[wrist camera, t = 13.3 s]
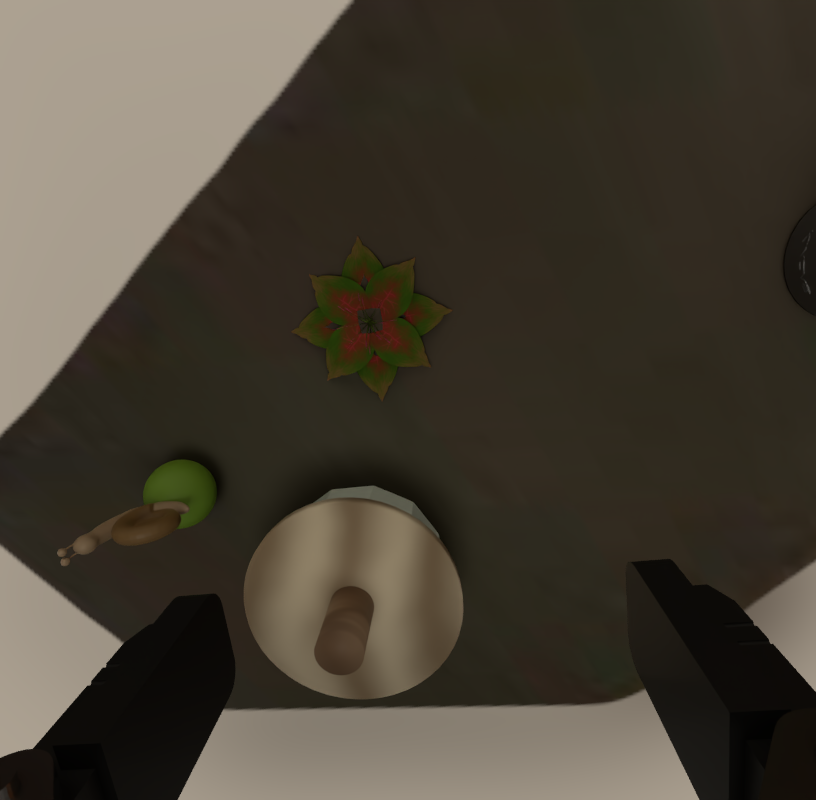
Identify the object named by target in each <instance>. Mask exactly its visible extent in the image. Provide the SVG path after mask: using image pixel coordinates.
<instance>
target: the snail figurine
mask: <svg viewBox="0 0 816 800" xmlns="http://www.w3.org/2000/svg"><path fill="white" fill-rule="evenodd" d="M216 497H217V487H216V482H215V480H214V478H213V476H212V474H211V473H210V472H209V470H208V469H207V468H205V467H204V466H203V465H201V464H199V463H197V462H194V461H191V460H174V461H170V462H168V463H165V464H163V465H162V466H160V467H159V468H157V469H156V470H155V471H154V472H153V473H152V474H151V475H150V477H149V478H148V480H147V482H146V484H145V487H144V491H143V502H144V505H143V506H141V507H138V508H134V509H131V510H129V511H126V512H124V513H122V514H120V515H118V516H116V517H114V518H112V519H110V520H108V521H106V522H104V523H102V524H101V525H99V526H97V527H96V528H95V529H93V530H92V531H91V532H89V533H88V534H85V535H82V536H80V537H78V538H77V539H76V540H75V542H74V544H72V545H70V546H69V547H67V548H66V549H65V548H61V549H59V550H58V552H57V554H58V556H60V557H63V556H65V555H66V554H67V549H68V548H70V547H71V546H73V549H74V551H75V552H76V553H75V554H74V555H76V554H88V553H90V552H92V551H93V550H95V548H96V547H97V546H98V545H100V544H102V543H104V542H106V541H108V540H109V539H111V538H113V540H114V541H115V542H117V543H118V544H120V545H125V546H135V545H141V544H146V543H149V542H153V541H156V540H158V539H161V538H163V537H165V536H167V535H169V534H170V533H172V532H173V531H174V530H176V529H181V528H187V527H190V526H193V525H195V524H197V523H199V522H200V521H202V520H203V519H204V518H205V517H206V516H207V515H208V514H209V513H210V512H211V510H212V508H213V506H214V504H215V501H216ZM74 555H72V556H71V557H73V556H74ZM71 557H69V558H67V557H65V558H63V559H62V560H61V565H62V566H67V565H69V563H70V558H71Z"/></svg>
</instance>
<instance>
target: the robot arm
mask: <svg viewBox="0 0 816 800" xmlns="http://www.w3.org/2000/svg"><path fill="white" fill-rule="evenodd" d="M784 269H785V279H786V282H787V285H788V288H789V291H790V292H791V294H792V295H793V297H794V299H795V300H796V301H797V302H798V303H799V304H800V305H801V306H802V307H803V308H804V309H805V310H806V311H808V312H810V313H812V314H813V315H815V316H816V205H815V206H814V207H813V208H812V209H811V210H809V211H808V212H807V214H806V215H805V216H804V217H803V218H802V219H801V221H800V222H799V223H798V225H797V227H796V228H795V230H794V232H793V233H792V235H791V237H790V240H789V243H788V246H787V249H786V254H785V261H784ZM626 592H627V617H628V637H629V644H630V650H631V654H632V658H633V661H634V664H635V667H636V670H637V672H638V674H639V676H640V678H641V680H642V682H643V684H644V687H645V689H646V691H647V693H648V695H649V697H650V699H651V701H652V703H653V705H654V707H655V709H656V711H657V713H658V715H659V717H660V719H661V721H662V724H663V726H664V728H665V730H666V732H667V734H668V736H669V738H670V740H671V742H672V744H673V746H674V748H675V750H676V752H677V754H678V756H679V759H680V761H681V763H682V765H683V767H684V769H685V771H686V773H687V775H688V777H689V779H690V781H691V783H692V785H693V787H694V789H695V791H696V794H697V796H698V798H699V800H816V692H815V691H814V690H813V689H812V687H811V686H810V685H809V684H808V683H807V682H806V681H805V679H804V678H803V677H802V676H801V675H800V674H799V673H798V672H797V670H796V669H795V668H794V667H793V666H792V665H791V664H790V663H789V661H788V660H787V659H786V658H785V657H784V656H783V655H782V654H781V652H780V651H779V650H778V649H777V648H776V647H775V646H774V645H773V644H770V642H769V639H768V638H767V637H766V636H765V634H764V633H763V632H762V631H761V630H760V629H759V628H758V627H757V626H754V624H753V621H752V620H751V619H750V618H749V616H748V615H747V614H746V613H745V612H744V611H743V610H742V608H741V607H740V606H739V605H738V604H737V603H736V602H735V601H734V600H732V599H731V598H729V597H727V596H726V595H724V594H722V593H721V592H719V591H717V590H716V589H714V588H712V587H711V586H709V585H695V586H693V585H692V584H691V583H690V582H689V580H688V579H687V578H686V577H685V575H684V574H683V573H682V572H681V570H680V569H679V568H678V567H677V565H676V564H675V563H674V562H673V561H672V560H671V559H662V560H649V561H637V562H628V564H627V566H626ZM106 664H107V665H106V668H102V669H101V671H100V672H99V673H98V674H97V675H96V676H95V678H94V679H93V680H92V681H91V685H90V686H87V687H86V688H85V689H84V690H83V691H82V692H81V694H80V695H79V696H78V697H77V698H76V699H75V701H74V702H73V703H72V704H71V705H70V706H69V708H68V709H67V710H66V711H65V712H64V713H63V714H62V716H61V717H60V718H59V719H58V720H57V722H56V723H55V724H54V725H53V726H52V727H51V728H50V730H49V731H48V732H47V733H46V734H45V736H44V737H43V738H42V739H41V740H40V741H39V742H38V743H37V745H36V746H35V747H34V748H33V749H29V750H28V749H27V750H23V751H18V752H15V753H12V754H9V755H6V756H4V757H2V758H0V800H178V798H179V796H180V794H181V792H182V790H183V788H184V786H185V784H186V782H187V780H188V778H189V776H190V774H191V772H192V770H193V768H194V766H195V764H196V762H197V760H198V758H199V756H200V754H201V752H202V750H203V748H204V746H205V744H206V742H207V740H208V738H209V736H210V734H211V732H212V730H213V728H214V726H215V725H216V722H217V721H218V718H219V717H220V715H221V713H222V711H223V709H224V707H225V705H226V703H227V701H228V699H229V697H230V695H231V692H232V689H233V685H234V680H235V659H234V654H233V650H232V645H231V641H230V637H229V632H228V628H227V624H226V619H225V615H224V611H223V606H222V603H221V600H220V598H219V597H218V596H217V595H216V594H202V595H189V596H179V597H176V598H175V599H174V600H173V601H172V602H171V603H170V604H169V605H168V607H167V608H166V609H165V610H164V611H163V613H162V614H161V615H160V616H159V617H158V619H157V620H156V621H155V622H154V623H153V624H149V625H148V626H147V627H145V628H144V629H143V630H141V631H140V632H138V633H137V634H136V635H134V636H133V637H132V638H130V639H129V640H127V641H126V642H125V643H124V644H123V645H122V646H121V647H120V649H119V650H118V651H117V652H116V653H115V654H114V655H113V657H112V658H111V659H110V660H109V661H108V662H107V663H106Z"/></svg>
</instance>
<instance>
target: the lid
mask: <svg viewBox="0 0 816 800" xmlns="http://www.w3.org/2000/svg"><path fill="white" fill-rule="evenodd" d="M244 606H245V612H246V616H247V620H248V623H249V626H250V629H251V631H252V633H253V635H254V638H255V639H256V641H257V643H258V644H259V646H260V648H261V649H262V650H263V652H264V653H265V654H266V655H267V657H268V658H269V659H270V660H271V661H272V662H273V663H274V664H275V665H276V666H277V667H278V668H279V669H280V670H281V671H283V672H284V673H285V674H286V675H288V676H289V677H290V678H292V679H294V680H295V681H297V682H299V683H300V684H302V685H304V686H306V687H308V688H311V689H313V690H315V691H318V692H321V693H324V694H327V695H331V696H336V697H340V698H349V699H373V698H382V697H386V696H390V695H394V694H397V693H400V692H403V691H405V690H408V689H410V688H412V687H414V686H416V685H418V684H419V683H421V682H422V681H424V680H425V679H427V678H428V677H429V676H431V675H432V674H433V673H434V672H435V671H436V670H437V669H438V668H439V667H440V666H441V665H442V664H443V662H444V661H445V660H446V659H447V657H448V656H449V654H450V653H451V651H452V649H453V648H454V645H455V643H456V641H457V638H458V636H459V633H460V629H461V625H462V618H463V594H462V586H461V580H460V576H459V573H458V570H457V567H456V564H455V562H454V560H453V558H452V557H451V555H450V553H449V551H448V550H447V548H446V547H445V545H444V544H443V542H442V541H441V540H440V539H439V538H438V537H437V535H436V534H435V533H434V532H433V531H432V530H431V529H430V528H428V527H427V526H426V525H425V524H424V523H423V522H421V521H420V520H418V519H417V518H415V517H414V516H412V515H411V514H409V513H407V512H405V511H403V510H401V509H399V508H397V507H395V506H392V505H389V504H386V503H383V502H380V501H375V500H371V499H365V498H354V497H346V498H333V499H327V500H322V501H318V502H315V503H311V504H309V505H306V506H304V507H302V508H300V509H297V510H296V511H294V512H292V513H291V514H289V515H287V516H286V517H285V518H283V519H282V520H281V521H280V522H278V523H277V524H276V525H275V526H274V527H273V528H272V529H271V530H270V532H269V533H268V534H267V535H266V536H265V538H264V539H263V541H262V542H261V544H260V545H259V547H258V548H257V550H256V551H255V553H254V555H253V557H252V559H251V561H250V563H249V566H248V570H247V573H246V577H245V584H244Z"/></svg>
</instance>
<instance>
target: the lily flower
mask: <svg viewBox="0 0 816 800" xmlns="http://www.w3.org/2000/svg"><path fill="white" fill-rule="evenodd" d="M351 251H352V254H349V255H348V257H347V259H346V262H345V264H344V267H343V271H342V277H341V276H329V275H325V276H319V277H316V276H315V275H310V274H309V276H310V278H311V280H312V284H313V288H314V290H316V292H315V297H316V300H317V303H318V305H319V307H318V308H316V309H315V310H313V311H312V312H311V313H310V314H309V315H308V316H307V317H306V318H305V319H304V320H303V321H302V322H301V323H300V326H299V328H296V329H294V330H293V331H291V332H292V333H295V334H297V335H299V336H300V337H302V338H307V340H308V341H309V342H310V343H312V344H314V345H316V346H319V347H322V348H326V362H327V369H328V370H329V372H330V373H328V380H330V379H331V378H336V377H340V376H341V375H344V376H345V375H349V374H352V373H354V372H356V371H357V372H358V374H359V376H360V378H361V379H362V380H363V382H364V383H365V384H366V385H367V386H368V387H369V388H370V389H372V390H373V391H374V392H376V393H378V394H379V395H378V396H379V397H380V399H381V400H382V401H383V399H384V395H385V394H386V392H387V390H388V386H389V385H391V383H392V381H393V379H394V377H395V375H396V372H397V368H398V366H401V367H418V366H419V365H422V364H423V366H427V367H431V366H430V364H429V363H428V358H427V355H426V354H425V353H424V350H425V348H424V345H423V343H422V340H421V338H420V336H422V335H424V334H426V333H427V332H429V331H430V330H431V329H433V328H434V327H435V326H436V325H437V324H438V323H439V322H440V321H441V320H442V318H443V316H444V314H448V313H449V312H451V311H453V310H451V309H448V308H447V309H446V307H444V306H442V305H440V304H436V303H435V301H434V300H432V299H430V298H428V297H426V296H423V295H420V294H416V293H413V290H414V270H413V267H412V266H414V262H415V258H416V257H415V258H413V259H411V260H410V261H409V260H408V261H405V262H402V263H400V265H397V264H395V265H392V266H389V267H387V268H383V266H382V265H381V263H380V262H379V260H378V259H377V258H376V257H375V255H374V254H373V253H372V252H371V251H370V250H369V249H368V248H367V247H364V246H363V245H362V242H361V240H360V239H359V237H358V236H357V239H356V243H355V244H354V246H353V248H352V250H351ZM363 274H364V275H365V278H367V280H368V284H367V287H366V290H365V291H364V289H363V288H362V287H361V286H360V284H361V281H362V279H363ZM369 308H377V309H378V308H380V310H381V315H382V320H383V330H381V331H379V330H378V329H377V327H376V326H375V325H374V323H376V322H373V321H370V320H372V318H371V317H370V318H371V319H370V318H369V317H368V316H367V318H368V319H369V320H368V319H366V317H365V315H364V317H365V319H364V318H362V319H364V320H366V321H364V320H362V321H364V322H365V323H366V322H367V323H368V324H369V325H368V324H367V325H368V329H367V333H366V334H362V333H361V331H362V330H360V327H359V323H358V319H359V318H358V317H359V316H357V311H358V310H362V311H363V309H369ZM375 310H376V309H375ZM365 312H366V311H365ZM373 313H374V312H373ZM363 314H364V312H363ZM402 314H404V315H405V316H406V317H405V318H404V319H402V318H398V317H399V316H401V315H402ZM366 315H367V313H366ZM372 315H373V314H372ZM372 317H373V316H372ZM360 318H361V317H360ZM360 320H361V319H360ZM332 322H334V323H336V324H338V325H342V326H340V327H339V328H338V329H336V330H334V329H333V330H331V329H330V328H323V327H326V326H328V325H329V324H330V323H332ZM365 323H364V324H365ZM361 324H362V323H361ZM361 324H360V325H361ZM372 324H373V325H374V326H375V327H376V329H377V330H378V331H377V332H375V331H374V329H373V326H372ZM367 325H366V326H367ZM369 327H370V333H368V330H369ZM365 328H366V327H365ZM365 328H364V329H365ZM371 328H372V330H373V333H371ZM364 329H363V330H364ZM374 350H375V351H376V353H377V356H375V355H374V354H373V353H374ZM328 380H327V381H328Z"/></svg>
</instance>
